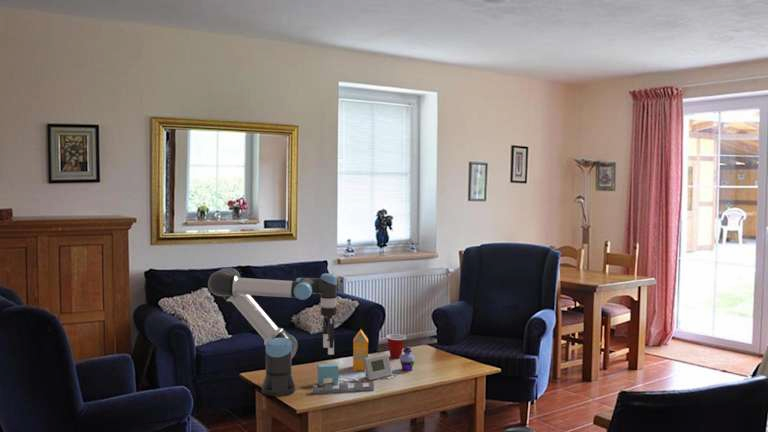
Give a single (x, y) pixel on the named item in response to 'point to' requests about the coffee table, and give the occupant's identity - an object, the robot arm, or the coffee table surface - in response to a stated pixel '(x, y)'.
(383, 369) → the digital clock
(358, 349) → the orange juice
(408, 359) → the potion bottle
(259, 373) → the coffee table surface
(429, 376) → the coffee table surface
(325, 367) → the block
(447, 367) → the coffee table surface
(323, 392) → the rail
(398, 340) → the plastic cup
